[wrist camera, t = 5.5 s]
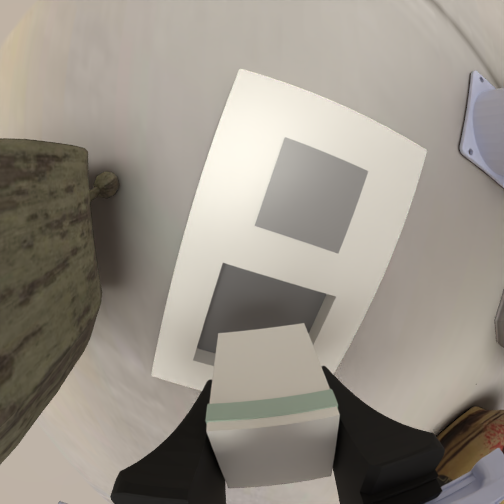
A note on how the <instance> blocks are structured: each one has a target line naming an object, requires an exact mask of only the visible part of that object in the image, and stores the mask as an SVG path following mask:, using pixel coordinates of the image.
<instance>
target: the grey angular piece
mask: <svg viewBox="0 0 504 504" xmlns="http://www.w3.org/2000/svg"><path fill="white" fill-rule="evenodd" d="M494 321H495V332H496V342H498V343H499V344H500V345H501V346H502V347H504V290H503V294H502V297H501V301H500V304H499V307H498V311H497V314H496V317H495V320H494Z"/></svg>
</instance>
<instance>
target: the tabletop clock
mask: <svg viewBox="0 0 504 504" xmlns="http://www.w3.org/2000/svg"><path fill="white" fill-rule="evenodd" d="M118 186H119V183H118V178H117V176H116V175H115V174H113V173H111V172H106V171H105V172H103V173H101V174H99V175H98V176H97V177H96V180H95V182H94V188H92V189H91V190H89V177H88V151H87V150H86V149H85V148H81V147H77V146H73V145H68V144H60V143H53V142H45V141H37V140H28V139H0V464H1V463H2V462H3V461H4V460H5V459H6V458H7V457H8V456H9V454H10V453H11V452H12V451H13V450H14V449H15V448H16V446H17V445H18V444H19V443H20V441H21V440H22V438H23V437H24V436H25V434H26V433H27V432H28V430H29V429H30V428H31V426H32V425H33V423H34V422H35V421H36V419H37V418H38V417H39V415H40V414H41V413H42V411H43V410H44V409H45V408H46V406H47V405H48V404H49V402H50V401H51V400H52V398H53V397H54V396H55V395H56V393H57V392H58V390H59V389H60V387H61V385H62V384H63V382H64V381H65V379H66V378H67V376H68V375H69V373H70V372H71V370H72V369H73V367H74V365H75V364H76V362H77V361H78V360H79V358H80V357H81V355H82V354H83V352H84V350H85V348H86V346H87V344H88V342H89V340H90V337H91V334H92V330H93V327H94V323H95V320H96V317H97V314H98V311H99V307H100V304H101V297H102V289H101V284H100V278H99V273H98V266H97V260H96V253H95V246H94V238H93V229H92V220H91V209H90V202H91V201H92V200H93V199H95V198H96V197H97V196H98V195H99V196H100V197H104V198H108V197H110V196H112V195H114V194H115V193H116V191H117V189H118Z"/></svg>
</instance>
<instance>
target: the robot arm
mask: <svg viewBox="0 0 504 504" xmlns="http://www.w3.org/2000/svg"><path fill="white" fill-rule="evenodd" d="M469 151H470V154H469ZM460 152H461V153H462V155H464V156H465V157H466V158H468V159H469V160H470V161H472V162H473V163H474V164H475V165H477V166H478V167H479V168H480V169H482V170H483V171H484V172H485V173H487V174H488V175H489V176H490V177H491V178H493V179H494V180H495V181H496V182H497V183H498V184H499V185H501V186H502V187H503V188H504V88H499V89H496V88H495V87H494V86H493V85H492V84H491V83H489V82H488V81H487V80H486V79H485V78H484V77H483V76H482V75H481V74H480V73H478V72H477V71H473V72H472V73H471V80H470V89H469V97H468V104H467V111H466V117H465V122H464V128H463V133H462V138H461V143H460ZM321 367H322V370H323V372H324V375H325V377H326V380H327V383H328V385H329V388H330V389H332V390H333V393H334V395H335V398H336V400H337V403H338V411H339V414H340V417H339V426H338V434H337V441H336V448H335V455H334V461H333V471H334V476H335V481H336V485H337V490H338V495H339V501H340V504H500V503H501V502H502V501H503V500H504V454H503V452H502V451H501V450H500V448H497V449H495V450H494V451H492V452H491V453H489V454H488V455H486V456H484V457H483V458H482V459H480V460H479V461H478V462H477V463H476V464H475V465H474V466H473V468H472V470H471V471H469V472H468V473H466V474H464V475H462V476H461V477H459V478H457V479H455V480H453V481H451V482H450V483H448V484H446V485H444V486H442V487H440V485H439V483H438V481H437V479H436V478H438V474H437V472H436V470H435V469H436V468H437V466H438V465H439V463H440V461H441V460H442V458H443V456H444V453H445V449H444V448H443V446H442V444H441V443H440V441H439V440H438V439H437V437H436V436H435V435H434V434H433V433H430V432H426V431H422V430H418V429H415V428H412V427H409V426H406V425H403V424H401V423H399V422H396V421H394V420H392V419H390V418H388V417H386V416H384V415H382V414H381V413H379V412H377V411H376V410H374V409H373V408H371V407H370V406H368V405H367V404H365V403H364V402H363V401H361V400H360V399H359V398H358V397H356V396H355V395H354V394H353V393H352V392H351V391H349V390H348V389H347V388H346V387H345V386H344V385H343V384H342V383H341V382H340V381H339V380H338V379H337V378H336V377H335V376H334V375H333V374H332V373H331V371H330V370H329V369H328V368H327V367H326V366H321ZM211 387H212V379H211V380H208V381H207V382H206V384H205V386H204V388H203V390H202V392H201V394H200V395H199V397H198V399H197V400H196V402H195V404H194V405H193V407H192V408H191V410H190V411H189V413H188V414H187V415H186V417H185V418H184V419H183V421H182V422H181V423H180V425H179V426H178V427H177V428H176V429H175V430H174V432H173V433H172V434H171V435H170V436H169V437H168V438H167V439H166V440H165V441H164V442H163V443H162V444H161V445H159V446H158V447H157V448H156V449H155V450H154V451H152V452H151V453H150V454H148V455H147V456H145V457H144V458H143V459H141V460H140V461H138V462H137V463H135V464H133V465H131V466H130V467H128V468H126V469H124V470H122V471H120V472H119V475H118V476H117V478H116V481H115V484H114V487H113V490H112V493H111V496H110V497H111V500H112V501H113V503H114V504H226V493H225V478H224V476H223V474H222V471H221V469H220V466H219V464H218V461H217V458H216V456H215V453H214V451H213V448H212V445H211V443H210V440H209V437H208V434H207V432H206V429H207V424H206V421H205V420H206V412H207V404H209V403H210V395H211ZM58 504H67V503H64V502H61V501H60V502H59V503H58Z"/></svg>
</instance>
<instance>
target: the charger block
mask: <svg viewBox="0 0 504 504" xmlns="http://www.w3.org/2000/svg"><path fill="white" fill-rule="evenodd" d="M339 417H340V414H339V411H338V403H337V400H336V398H335V395H334V393H333V390H332V389H330V388H329V385H328V383H327V380H326V377H325V375H324V372H323V370H322V367H321V364H320V362H319V359H318V357H317V354H316V352H315V349H314V347H313V344H312V342H311V339H310V337H309V334H308V332H307V329H306V327H305V324H304V323H301V324H294V325H287V326H279V327H272V328H264V329H255V330H246V331H237V332H227V333H218V340H217V347H216V355H215V363H214V370H213V378H212V387H211V395H210V403H209V404H207V412H206V420H205V421H206V424H207V429H206V432H207V434H208V437H209V440H210V443H211V445H212V448H213V451H214V453H215V456H216V458H217V461H218V464H219V466H220V469H221V471H222V474H223V476H224V478H225V481H226V483H227V486H228V488H246V487H260V486H270V485H279V484H287V483H294V482H301V481H307V480H312V479H318V478H323V477H328V476H331V473H332V468H333V461H334V455H335V448H336V441H337V434H338V426H339Z"/></svg>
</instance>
